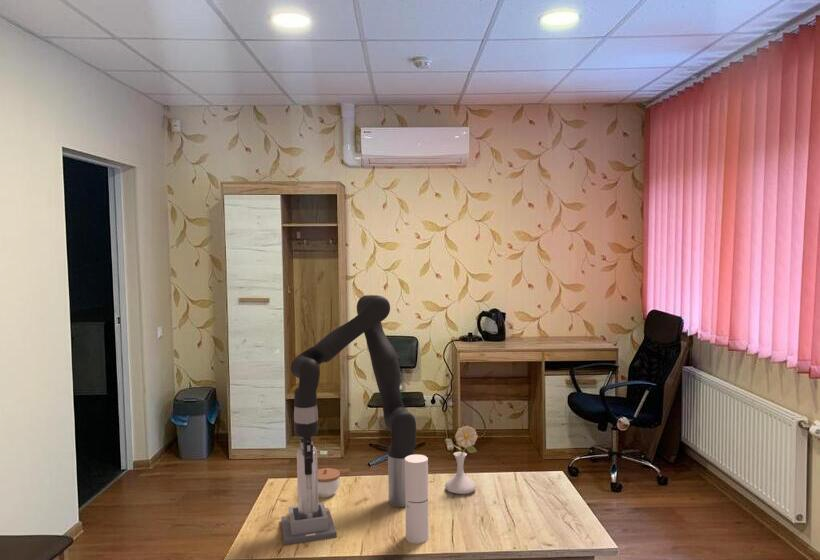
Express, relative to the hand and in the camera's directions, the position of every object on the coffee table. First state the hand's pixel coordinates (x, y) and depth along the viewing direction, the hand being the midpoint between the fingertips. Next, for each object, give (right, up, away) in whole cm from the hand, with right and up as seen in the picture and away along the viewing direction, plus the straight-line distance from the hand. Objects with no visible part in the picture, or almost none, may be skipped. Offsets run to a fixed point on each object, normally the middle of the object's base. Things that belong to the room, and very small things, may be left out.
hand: (307, 470), depth 181 cm
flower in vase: (+53, -18, +28) cm, 62 cm away
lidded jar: (+2, -18, +27) cm, 33 cm away
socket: (0, -19, +1) cm, 19 cm away
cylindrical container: (+35, -19, -6) cm, 41 cm away
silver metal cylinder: (0, -18, +1) cm, 18 cm away
